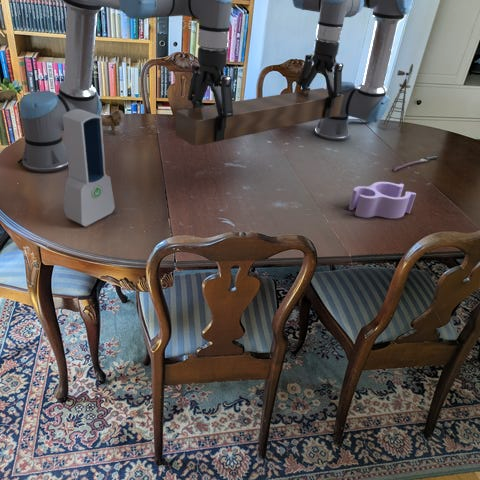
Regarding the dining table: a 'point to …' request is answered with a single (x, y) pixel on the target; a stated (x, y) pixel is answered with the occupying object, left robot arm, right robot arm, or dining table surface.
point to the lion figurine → (113, 120)
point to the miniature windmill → (400, 99)
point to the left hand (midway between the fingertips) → (207, 134)
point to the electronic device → (86, 169)
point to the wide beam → (254, 115)
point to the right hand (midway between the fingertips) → (314, 112)
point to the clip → (381, 200)
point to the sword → (415, 162)
